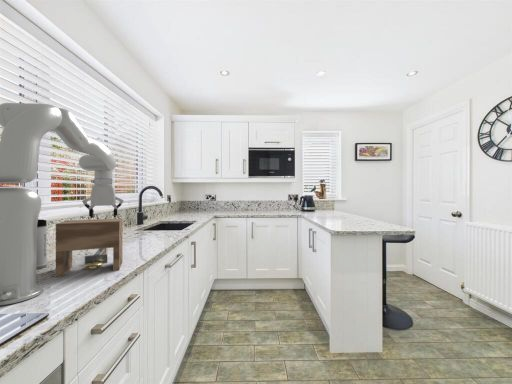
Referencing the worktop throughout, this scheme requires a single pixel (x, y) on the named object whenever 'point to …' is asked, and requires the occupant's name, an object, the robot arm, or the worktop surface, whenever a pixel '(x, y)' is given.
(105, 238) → the wooden step stool
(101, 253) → the scraper
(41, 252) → the travel mug
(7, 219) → the robot arm
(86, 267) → the puck
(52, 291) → the worktop surface
